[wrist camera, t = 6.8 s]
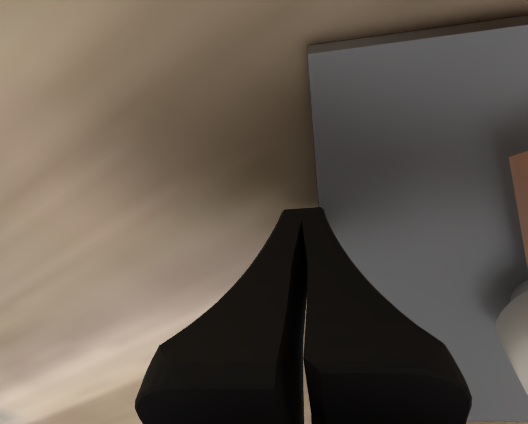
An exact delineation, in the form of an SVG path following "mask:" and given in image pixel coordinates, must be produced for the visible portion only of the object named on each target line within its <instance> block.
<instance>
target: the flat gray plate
mask: <svg viewBox="0 0 528 424" xmlns="http://www.w3.org/2000/svg"><path fill="white" fill-rule="evenodd" d="M307 48H308V66H309V79H310V93H311V107H312V121H313V135H314V148H315V162H316V176H317V190H318V204H319V207H321V208H323V209H324V211H325V215H326V218H327V220H328V223H329V225H330V227H331V229H332V231H333V233H334V235H335V236H336V238H337V240H338V241H339V243H340V244H341V246H342V248H343V249H344V251H345V252H346V254H347V255H348V256H349V258H350V259H351V260H352V262H353V263H354V264H355V266H356V267H357V268H358V269H359V271H360V272H361V273H362V274H363V275H364V276H365V278H366V279H367V280H368V281H369V282H370V283H371V284H372V285H373V286H374V287H375V288H376V289H377V290H378V291H379V292H380V293H381V294H382V295H383V296H384V297H385V298H386V299H387V300H388V301H389V302H391V303H392V304H393V305H394V306H395V307H396V308H397V309H398V310H399V311H400V312H402V313H403V314H404V315H405V316H407V317H408V318H409V319H410V320H412V321H413V322H414V323H415V324H417V325H418V326H419V327H421V328H422V329H424V330H425V331H427V332H428V333H430V334H431V335H432V336H434V337H435V338H437V339H438V340H440V341H441V342H443V343H444V344H445V345H446V347H447V348H448V350H449V352H450V353H451V355H452V356H453V358H454V360H455V362H456V363H457V365H458V367H459V369H460V371H461V373H462V374H463V376H464V378H465V380H466V383H467V385H468V387H469V390H470V393H471V396H472V407H471V410H470V413H469V416H468V419H467V421H508V422H528V395H527V393H526V392H525V390H524V388H523V386H522V384H521V382H520V380H519V378H518V376H517V374H516V372H515V370H514V368H513V366H512V364H511V362H510V360H509V358H508V356H507V354H506V352H505V350H504V348H503V346H502V345H501V343H500V341H499V339H498V337H497V334H496V329H495V327H496V321H497V318H498V317H499V315H500V313H501V312H502V310H503V309H504V308H505V307H506V306H507V305H508V304H509V303H510V302H511V301H512V300H514V299H515V298H516V297H518V296H519V295H521V294H522V293H524V292H526V291H528V268H527V262H526V256H525V250H524V244H523V239H522V233H521V227H520V221H519V215H518V209H517V203H516V197H515V191H514V186H513V180H512V174H511V168H510V162H509V157H511V156H514V155H517V154H520V153H523V152H525V151H528V15H527V16H520V17H513V18H505V19H498V20H491V21H484V22H476V23H469V24H462V25H455V26H447V27H440V28H433V29H426V30H418V31H411V32H404V33H397V34H389V35H382V36H375V37H368V38H360V39H353V40H346V41H338V42H331V43H324V44H317V45H309V46H307Z"/></svg>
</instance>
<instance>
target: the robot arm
mask: <svg viewBox="0 0 528 424" xmlns="http://www.w3.org/2000/svg"><path fill="white" fill-rule="evenodd" d="M306 299H307V310H306ZM305 311H306V329H305V344H304V356H303V335H304V323H305ZM303 359H304V366H305V373H306V380H307V387H308V394H309V401H310V408H311V422H312V424H466V422H467V419H468V416H469V413H470V410H471V407H472V396H471V393H470V390H469V387H468V385H467V383H466V380H465V378H464V376H463V374H462V373H461V371H460V369H459V367H458V365H457V363H456V362H455V360H454V358H453V356H452V355H451V353H450V352H449V350H448V348H447V347H446V345H445V344H444V343H443V342H441V341H440V340H438V339H437V338H435V337H434V336H432V335H431V334H430V333H428V332H427V331H425V330H424V329H422V328H421V327H419V326H418V325H417V324H415V323H414V322H413V321H412V320H410V319H409V318H408V317H407V316H405V315H404V314H403V313H402V312H400V311H399V310H398V309H397V308H396V307H395V306H394V305H393V304H392V303H391V302H389V301H388V300H387V299H386V298H385V297H384V296H383V295H382V294H381V293H380V292H379V291H378V290H377V289H376V288H375V287H374V286H373V285H372V284H371V283H370V282H369V281H368V280H367V279H366V278H365V276H364V275H363V274H362V273H361V272H360V271H359V269H358V268H357V267H356V266H355V264H354V263H353V262H352V260H351V259H350V258H349V256H348V255H347V254H346V252H345V251H344V249H343V248H342V246H341V244H340V243H339V241H338V240H337V238H336V236H335V235H334V233H333V231H332V229H331V227H330V225H329V223H328V220H327V218H326V215H325V211H324V209H323V208H321V207H316V208H301V209H286V210H284V211H283V212H282V213H281V216H280V218H279V220H278V222H277V224H276V226H275V228H274V230H273V232H272V233H271V235H270V237H269V238H268V240H267V242H266V243H265V245H264V247H263V248H262V250H261V251H260V253H259V254H258V255H257V257H256V258H255V260H254V261H253V263H252V264H251V265H250V267H249V268H248V269H247V270H246V272H245V273H244V274H243V275H242V277H241V278H240V279H239V280H238V281H237V282H236V283H235V285H234V286H233V287H232V288H231V289H230V290H229V291H228V292H227V293H226V294H225V295H224V296H223V297H222V298H221V299H220V300H219V301H218V302H217V303H216V304H215V305H213V306H212V307H211V308H210V309H209V310H208V311H206V312H205V313H204V314H203V315H202V316H200V317H199V318H198V319H197V320H195V321H194V322H193V323H192V324H190V325H189V326H188V327H186V328H185V329H183V330H182V331H180V332H179V333H177V334H176V335H174V336H173V337H172V338H170V339H169V340H167V341H166V342H164V343H163V344H161V345H159V347H158V349H157V351H156V353H155V355H154V357H153V359H152V361H151V363H150V365H149V367H148V369H147V372H146V374H145V377H144V379H143V382H142V385H141V387H140V390H139V392H138V395H137V398H136V400H135V409H136V412H137V414H138V416H139V418H140V420H141V421H142V423H143V424H304V397H303Z"/></svg>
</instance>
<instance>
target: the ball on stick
mask: <svg viewBox="0 0 528 424" xmlns="http://www.w3.org/2000/svg"><path fill="white" fill-rule="evenodd" d="M509 162H510V168H511V174H512V180H513V186H514V191H515V197H516V203H517V209H518V215H519V221H520V227H521V233H522V239H523V244H524V250H525V256H526V262H527V268H528V151H525V152H523V153H520V154H517V155H514V156H511V157H509ZM495 329H496V334H497V337H498V339H499V341H500V343H501V345H502V346H503V348H504V350H505V352H506V354H507V356H508V358H509V360H510V362H511V364H512V366H513V368H514V370H515V372H516V374H517V376H518V378H519V380H520V382H521V384H522V386H523V388H524V390H525V392H526V393H527V395H528V291H526V292H524V293H522V294H521V295H519V296H518V297H516V298H515V299H514V300H512V301H511V302H510V303H509V304H508V305H507V306H506V307H505V308H504V309H503V310H502V312H501V313H500V315H499V317H498V318H497V321H496V327H495Z"/></svg>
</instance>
